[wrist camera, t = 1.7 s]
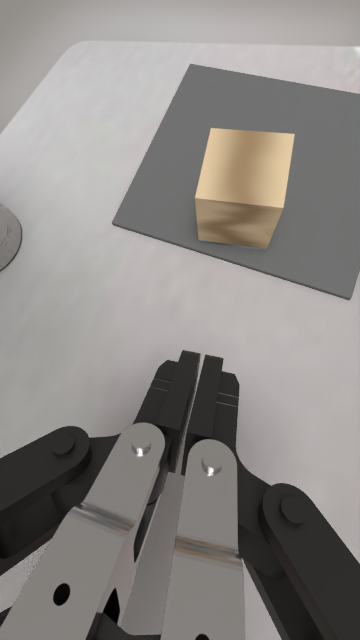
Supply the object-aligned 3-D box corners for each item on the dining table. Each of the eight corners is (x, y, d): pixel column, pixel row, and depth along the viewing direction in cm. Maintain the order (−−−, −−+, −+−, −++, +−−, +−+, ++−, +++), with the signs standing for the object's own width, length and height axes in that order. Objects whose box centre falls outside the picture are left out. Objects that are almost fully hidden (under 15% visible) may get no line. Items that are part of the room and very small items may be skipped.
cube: (198, 241, 29) (194, 198, 22) (211, 185, 30) (210, 127, 23) (265, 250, 28) (283, 207, 21) (275, 192, 29) (294, 133, 22)
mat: (113, 224, 31) (111, 222, 31) (190, 67, 35) (190, 63, 35) (349, 299, 26) (351, 298, 26) (406, 106, 30) (409, 102, 30)
